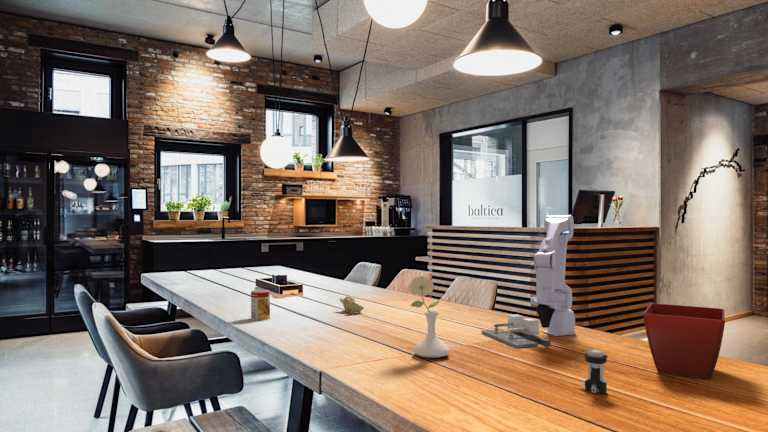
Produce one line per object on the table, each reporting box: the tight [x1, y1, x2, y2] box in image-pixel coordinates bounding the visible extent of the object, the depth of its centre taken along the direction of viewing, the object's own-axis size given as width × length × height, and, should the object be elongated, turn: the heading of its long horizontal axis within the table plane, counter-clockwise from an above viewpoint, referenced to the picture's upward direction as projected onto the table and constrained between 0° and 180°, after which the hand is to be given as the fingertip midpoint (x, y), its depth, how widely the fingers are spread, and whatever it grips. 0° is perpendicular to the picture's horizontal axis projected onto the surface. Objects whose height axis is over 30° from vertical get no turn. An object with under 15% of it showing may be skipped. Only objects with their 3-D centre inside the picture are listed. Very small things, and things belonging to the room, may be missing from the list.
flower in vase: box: [408, 275, 451, 359], centre depth 168 cm, size 13×11×25 cm
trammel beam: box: [506, 326, 552, 346], centre depth 192 cm, size 2×24×2 cm, turn 18°
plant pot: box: [643, 302, 726, 380], centre depth 150 cm, size 19×19×17 cm
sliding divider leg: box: [507, 317, 540, 336], centre depth 189 cm, size 11×4×5 cm, turn 108°
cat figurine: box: [339, 295, 365, 314], centre depth 246 cm, size 8×7×12 cm
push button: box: [579, 349, 608, 396], centre depth 133 cm, size 7×5×10 cm
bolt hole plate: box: [481, 328, 539, 349], centre depth 190 cm, size 8×24×1 cm, turn 18°
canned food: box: [250, 289, 271, 322], centre depth 231 cm, size 8×8×12 cm
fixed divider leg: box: [492, 313, 524, 331], centre depth 199 cm, size 11×4×5 cm, turn 108°
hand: (545, 327), depth 183 cm, fingers closed
